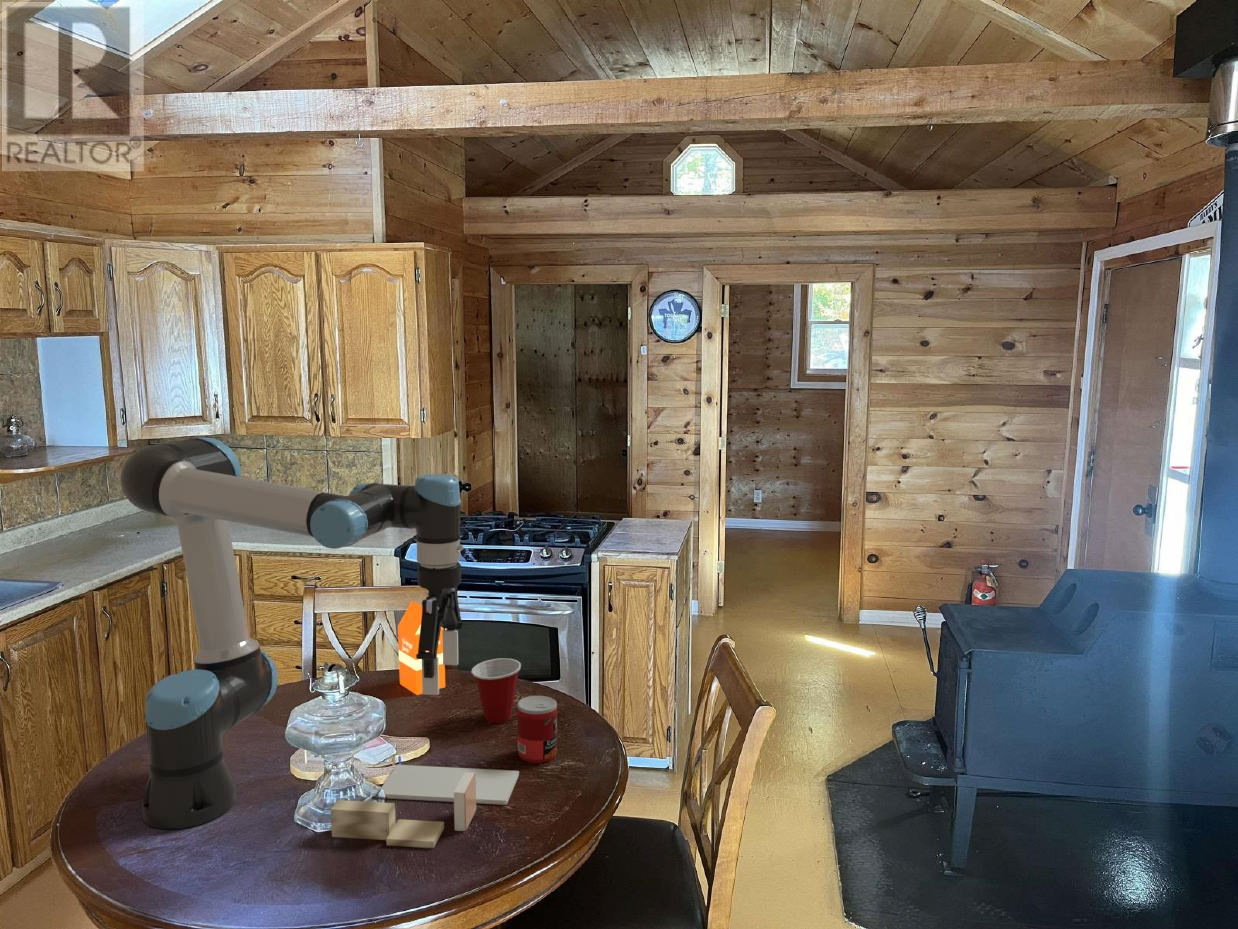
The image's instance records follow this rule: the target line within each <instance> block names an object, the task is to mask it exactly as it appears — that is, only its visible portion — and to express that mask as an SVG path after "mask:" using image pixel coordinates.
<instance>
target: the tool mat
mask: <svg viewBox="0 0 1238 929" xmlns="http://www.w3.org/2000/svg"><path fill="white" fill-rule="evenodd" d="M465 772H471V773H475V774H476V804H485V805H501V806H506V805H508V803H509V800H510V797H511V796H512V794H513V790H514V788H515V786H516V783H517V781H518V778H519V776H520V771H519V770H508V769H489V768H471V767H469V768H468V767H467V768H466V767H450V766H447V767H446V766H432V765H431V766H430V765H411V764H410V765H408V764H396V766H395V767H394V769H393V770H392V772H391V773H390V775H389V776H388V778H387V779H386V780H385V782H384V783H383V785H382V786H381V788H380V789H383V790H384V794H385V796H386V797H387V798H386V799H394V800H395V799H396V800H410V801H411V800H413V801H414V800H415V801H429V802H431V801H432V802H446V803H447V802H451V803H454V791H455V789H456V787H457V785H458V784H459V782H460V780H461V778H462V776H463V774H464V773H465Z"/></svg>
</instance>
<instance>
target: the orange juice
mask: <svg viewBox="0 0 1238 929" xmlns="http://www.w3.org/2000/svg"><path fill="white" fill-rule="evenodd" d="M421 619H422V604H418V603H417V602H415V601H413V600H411V601H410V603H409V605H408V607H407V608H406V611H405V612H404V615H403V616H402V618H401V620H400V622H399V623H398V625H397V634H398V635H397V637H398V665H399V667H398V670H399V672H398V673H399V684H400V685H401V686H402V687H404V688H405V689H407V690H408V691H410V692H412V693H413V694H415V695H416V696H419V695H423V694H422V659H417V658H416V654H418V646H419V637H420V628H421ZM443 630H445V628H444V627H442V626H441V632H440V638H439V644H438V650H437V657H439V690H440V689H443V688H446V667H445V666H446V665H443V632H442V631H443ZM426 652H429V651H426Z"/></svg>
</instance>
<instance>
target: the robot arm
mask: <svg viewBox="0 0 1238 929" xmlns="http://www.w3.org/2000/svg"><path fill="white" fill-rule="evenodd" d="M241 470H242V469H241V465H240V462H239V460H238V457H237V456H236V453H235V452H234V451H233V450H232V449H231V447H229V446H228V445H226V444H225V443H224V442H223V441H221V440H219V439H216V438H213V437H190V438H185V439H180V440H176V441H169V442H165V443H160V444H151V445H147V446H144V447H142V448H140V449H138V450H137V451H135V452H134V453H133V454H131V455H130V456H129V457H128V458H127V460H126V461H125V462H124V464H123V466H122V469H121V472H120V488H121V490H122V493H123V494H124V496H125V498H126V499H127V500H128V502H129V503H131V504H132V505H133V506H134V507H136V508H138V509H140V510H142V511H144V512H147V513H152V514H155V515H161V516H166V518H167V519H169V520H170V521H171V522H173V523H175V524H176V527H177V530H178V537H179V541H180V542H179V543H180V548H181V551H182V558H183V562H184V568H185V573H186V579H187V582H188V588H189V595H190V599H191V600H190V601H191V605H192V609H193V615H194V620H195V625H196V630H197V636H198V641H199V646H200V649H199V650H198V652H197V653H196V655H195V656H194V657H193V663H194V669H188V670H183V671H180V673H177V674H176V673H172V674H170V675H168V676H165V677H164V678H162V679H160V680H159V681H157V682H156V683H155V684H153V685H152V686H151V688H150V689H149V690H148V691H147V693H146V696H145V710H144V720H145V726H146V737H147V746H148V747H147V748H148V749H147V750H148V760H149V771H150V772H149V773H150V774H149V777H148V781H147V782H146V783H147V784H146V787H145V791H144V795H143V798H142V802H141V817H142V821H143V822H144V823H145V824H146V825H147V826H150V827H152V828H154V829H155V828H156V829H161V830H178V829H179V830H180V829H186V828H191V827H196V826H199V825H202V824H205V823H208V822H210V821H213V820H215V819H216V818H218V817H219V818H220V816H223V815H224V814H225V813H227V812H228V811H229V810H231V808H232V807H233V806H234V805H235V803H236V801H237V792H236V790H237V787H236V784H235V781H234V780H233V778H232V776H231V773H230V771H229V769H228V767H227V764H226V762H225V760H224V755H223V754H224V752H223V739H222V736H223V734H225V733H226V732H227V731H229V730H231V729H233V728H234V727H235V726H237V725H238V724H240V723H241V722H243V721H245V720H246V719H248V718H249V717H250V716H252V715H255V714H257V713H258V712H259V711H260V710H261V709H263V708H264V706H266V705H267V704H268V703H269V702H270V701H271V699H273V697H274V695H275V693H276V691H277V688H278V684H279V682H278V681H279V675H278V669H277V667H276V663H275V662H274V660H273V659H272V658H271V657H268V656H269V654H268V653H267V652H265V651H264V650H262V649H261V646H260V643H259V641H257V640H255V639H253V638H251V636H250V634H249V628H248V624H247V618H246V617H247V616H246V613H245V607H244V602H243V601H244V600H243V596H242V591H241V585H240V580H239V575H238V570H237V564H236V562H237V561H236V557H235V554H234V553H235V552H234V547H233V543H232V542H233V541H232V536H231V530H230V525H229V522H231V523H237V524H243V525H246V526H247V525H248V526H253V527H256V528H264V529H269V530H272V531H273V530H275V531H279V532H284V533H291V534H295V535H301V536H304V537H305V536H306V537H311V538H314V539H315V540H316V541H317V543H319V544H320V545H322V546H323V547H325V548H327V549H331V550H332V549H333V550H334V549H335V550H336V549H341V548H347V547H351V546H353V545H354V544H356V543H358V542H360V541H361V540H363V539H366V538H368V537H370V536H372V535H375V534H377V533H379V532H381V531H382V532H383V531H384V530H387V529H389V528H393V529H394V528H395V529H396V528H397V529H398V528H399V529H411V530H412V529H413V530H414V529H415V531H416V562H417V563H418V565H417V567H416V568H417V585H418V586H419V587H421V589H426V590H427V591H428V595H427V596H426V597H425V599H422V601H421V606H422V619H421V628H420V637H419V646H418V654H416V658H417V659H422V694H421V695H431V696H433V695H434V696H438V695H439V694H440V689H439V657H437V650H438V644H439V638H440V632H441V627H442V625H443V629H444V630H443V631H442V632H443V665H445V666H458V665H459V630H462V629H463V622H461V620H462V618H461V617H462V616H461V612H460V606H459V599H458V592H457V587H458V586H459V585H461V583H462V564H461V563H460V561H461V558H462V557H461V556H462V554H461V551H463V550H464V548H465V547H464V544H461V505H462V500H461V494H460V484H459V483H460V482H459V479H458V478H457V477H456V476H454V475H452V474H448V473H447V474H446V473H429V474H422V475H419V476H418V477H416V478H415V483H414V485H401V484H388V483H387V484H386V483H378V482H370V483H359V484H356V485H355V486H354V487H353V489H352V490H351V491H350V492H349V495H341V494H335V493H329V492H324V491H319V490H313V489H309V488H308V489H307V488H302V487H297V486H292V485H285V484H280V483H274V482H269V481H263V480H259V479H258V480H257V479H251V478H247V477H243V476H242V477H241ZM426 651H429V652H426Z"/></svg>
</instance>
